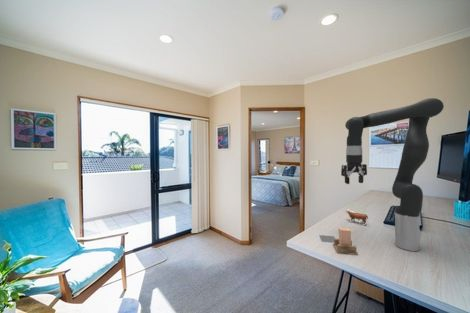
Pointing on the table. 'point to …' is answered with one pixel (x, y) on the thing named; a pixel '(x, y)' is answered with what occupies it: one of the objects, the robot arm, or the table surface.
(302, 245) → the table surface
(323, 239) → the rubber mat
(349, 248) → the slotted rack
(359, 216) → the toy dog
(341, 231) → the tall salmon pink block
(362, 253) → the table surface
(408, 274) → the table surface
